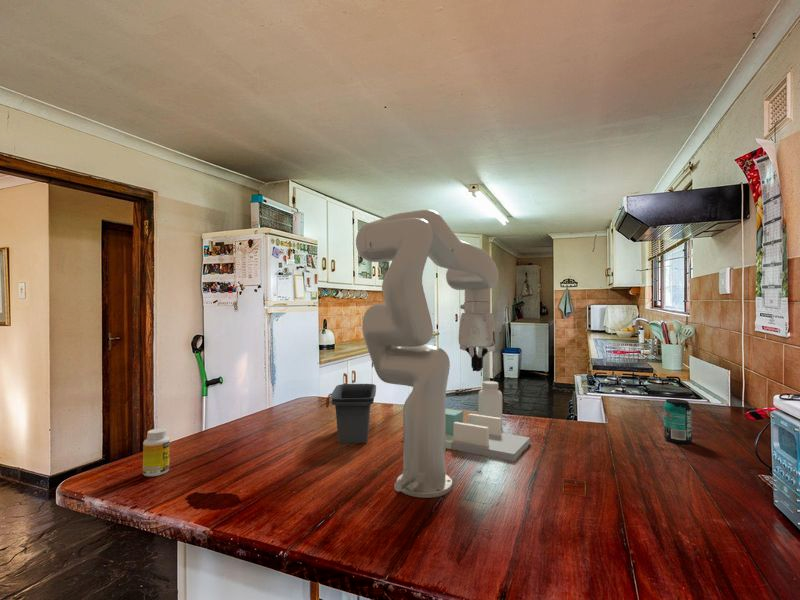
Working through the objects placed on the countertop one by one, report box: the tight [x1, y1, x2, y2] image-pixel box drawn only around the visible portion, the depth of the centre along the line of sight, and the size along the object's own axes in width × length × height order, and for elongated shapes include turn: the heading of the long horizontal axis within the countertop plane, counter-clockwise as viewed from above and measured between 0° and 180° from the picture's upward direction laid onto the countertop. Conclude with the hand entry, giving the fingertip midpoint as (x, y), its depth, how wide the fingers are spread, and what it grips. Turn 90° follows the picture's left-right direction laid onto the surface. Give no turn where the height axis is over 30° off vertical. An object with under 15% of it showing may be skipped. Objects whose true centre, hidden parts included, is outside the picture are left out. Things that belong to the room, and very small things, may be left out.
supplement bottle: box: [142, 427, 171, 477], centre depth 100 cm, size 6×6×10 cm
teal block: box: [445, 408, 464, 435], centre depth 126 cm, size 6×6×6 cm
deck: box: [445, 413, 531, 463], centre depth 122 cm, size 16×34×7 cm, turn 58°
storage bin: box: [325, 383, 377, 444], centre depth 129 cm, size 21×16×14 cm
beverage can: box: [663, 398, 693, 445], centre depth 123 cm, size 7×7×12 cm
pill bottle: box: [477, 380, 503, 427], centre depth 138 cm, size 8×8×15 cm
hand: (477, 370), depth 120 cm, fingers closed
